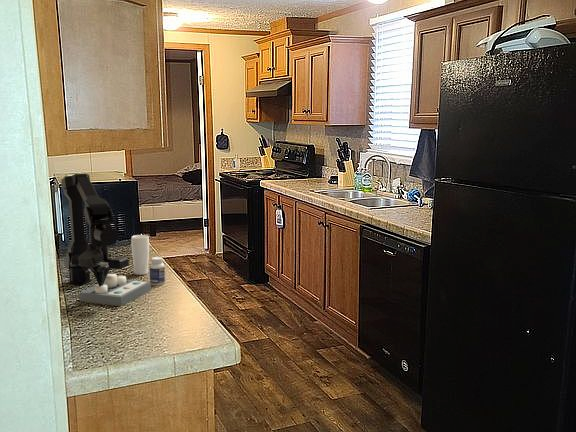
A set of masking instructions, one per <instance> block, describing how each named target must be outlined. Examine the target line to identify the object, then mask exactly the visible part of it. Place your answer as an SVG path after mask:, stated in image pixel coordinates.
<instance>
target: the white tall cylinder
mask: <svg viewBox="0 0 576 432" xmlns="http://www.w3.org/2000/svg"><path fill="white" fill-rule="evenodd" d="M130 239H131V240H130V243H131V244H130V246H131V255H132V260H133V272H134V275H136V276H144V275H147V274H148V273H149V257H150V236H149V235H147V234H136V235H132V236H131V238H130Z"/></svg>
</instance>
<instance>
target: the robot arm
mask: <svg viewBox="0 0 576 432" xmlns="http://www.w3.org/2000/svg"><path fill="white" fill-rule="evenodd" d="M60 187H61V189H62V190H63V195H64V196H65V197H66V199H67V200H68V206H69V220H70V234H71V241H70V242H69V244H68V246H67V252H66V255H65V258H64V267H65V268H67V269H68V278H69V281H66V284H68V285H75V286H77V285H78V286H83V285H85V284H87V283H90V282H92V281H93V279H92V278H91V276H90V275H91V274H90V271H91V272H92V273H93V276H94V278H95V280H96V282H97V284H98V285H99V286H103V284H104V282H105V279H106V277H107V275H108V274H110V273H109V272H110V271H111V269H112V270H120V269H124V268H126V267H127V266H128V267H129V265H130V262H129V258H128V257H126V256H115V257H112V254H111V253H109V247H110V246H113V245H115V244H116V243H117V241H118V240H119V234H118V231H117V230H116V229H114V228H113V227H112V225H113V224H115V216H114V213H113V210H112V208H111V206H110V205H109V203H108V202H107V200H106V199H105V198H103V197H100V196H99V195H98V193H97V190H95V187H94V185H93V184H92V182H91V178H90V174H89V173H74V174H72V175H65V176H64V177H63V178H62V179H61V181H60ZM83 203H84V204H83ZM83 205H84V206H83ZM84 217H85V219H86V221H87V225H88V228H89V229H88V231H89V232H88V233H89V242H88V241H87V240H86V231H85V219H84Z"/></svg>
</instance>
